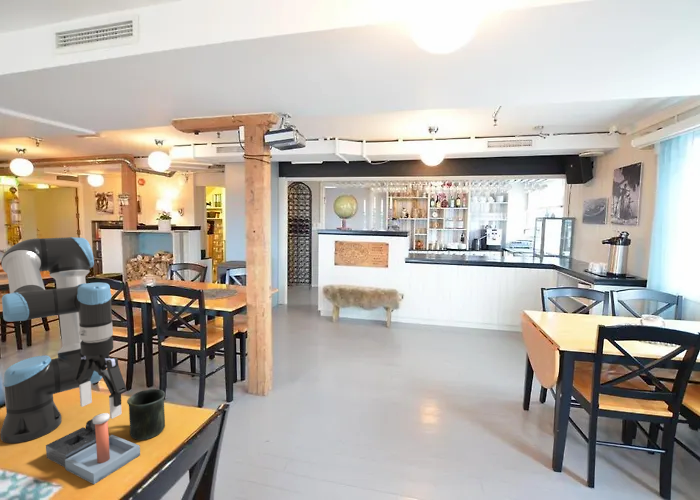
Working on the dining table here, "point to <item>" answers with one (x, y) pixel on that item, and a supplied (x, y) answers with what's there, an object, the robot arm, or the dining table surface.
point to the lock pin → (102, 437)
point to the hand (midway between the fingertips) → (100, 410)
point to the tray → (93, 471)
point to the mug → (146, 414)
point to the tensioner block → (71, 444)
